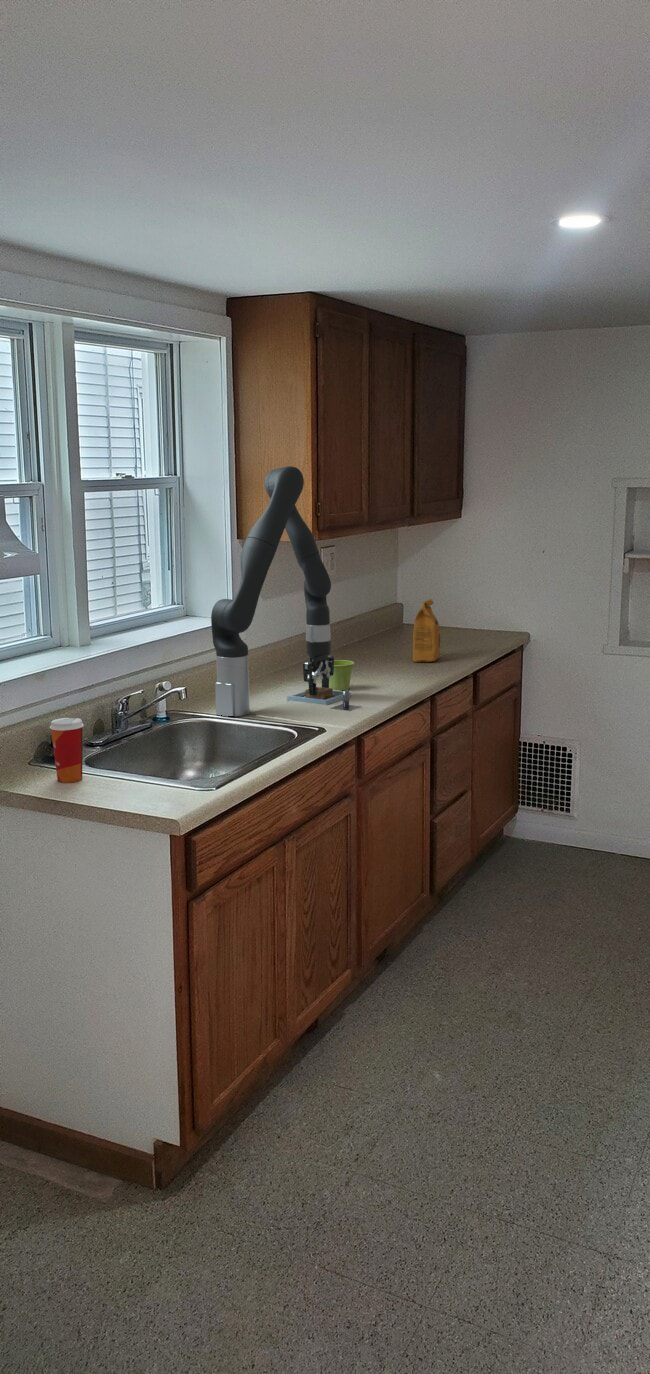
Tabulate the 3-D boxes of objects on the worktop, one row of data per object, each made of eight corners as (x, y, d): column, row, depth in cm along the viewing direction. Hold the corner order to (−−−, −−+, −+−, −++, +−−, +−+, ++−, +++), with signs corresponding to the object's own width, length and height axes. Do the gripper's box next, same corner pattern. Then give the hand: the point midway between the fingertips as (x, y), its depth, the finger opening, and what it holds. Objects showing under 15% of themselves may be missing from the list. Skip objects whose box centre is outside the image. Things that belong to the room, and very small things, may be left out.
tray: (326, 707, 327) (326, 700, 327) (287, 702, 335) (287, 696, 334) (350, 698, 339) (350, 692, 338) (312, 694, 346) (312, 688, 346)
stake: (350, 713, 319) (349, 693, 317) (329, 710, 322) (329, 691, 321) (362, 709, 324) (362, 689, 323) (342, 706, 328) (342, 687, 327)
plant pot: (348, 692, 348) (348, 665, 346) (320, 691, 351) (320, 664, 349) (358, 687, 356) (357, 660, 354) (330, 685, 359) (330, 659, 358)
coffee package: (444, 658, 407) (444, 598, 402) (435, 664, 395) (436, 603, 391) (418, 657, 410) (418, 598, 406) (409, 662, 399) (409, 602, 394)
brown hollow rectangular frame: (305, 699, 336) (305, 690, 335) (316, 696, 340) (316, 686, 340) (327, 702, 331) (327, 692, 331) (338, 698, 336) (338, 689, 336)
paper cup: (63, 774, 260) (60, 716, 257) (92, 776, 258) (89, 717, 255) (46, 783, 253) (42, 723, 250) (76, 785, 250) (72, 725, 248)
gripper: (320, 634, 341) (321, 687, 344) (294, 641, 329) (295, 695, 332) (341, 636, 337) (342, 690, 340) (315, 643, 325) (316, 698, 328)
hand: (319, 692), depth 336 cm, fingers open, 6 cm apart
